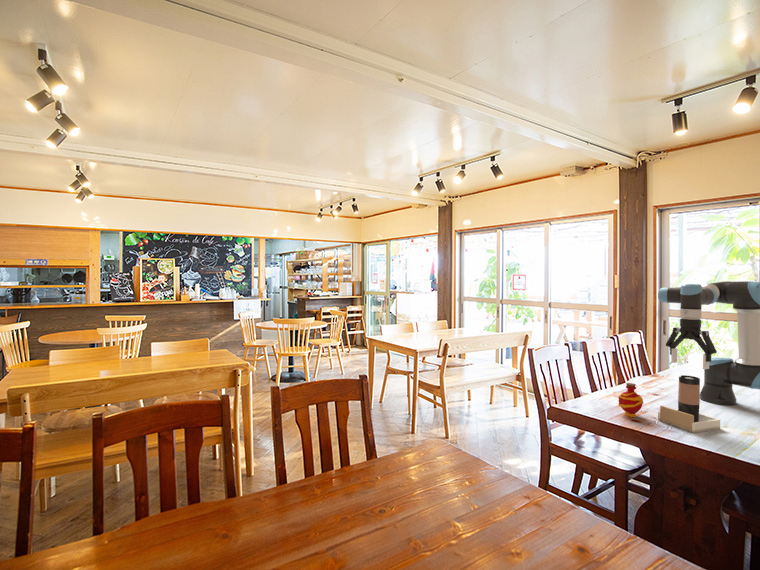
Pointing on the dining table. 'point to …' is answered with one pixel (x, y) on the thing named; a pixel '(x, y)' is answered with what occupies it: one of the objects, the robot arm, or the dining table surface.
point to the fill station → (687, 420)
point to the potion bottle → (630, 400)
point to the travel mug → (689, 395)
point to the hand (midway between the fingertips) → (689, 365)
